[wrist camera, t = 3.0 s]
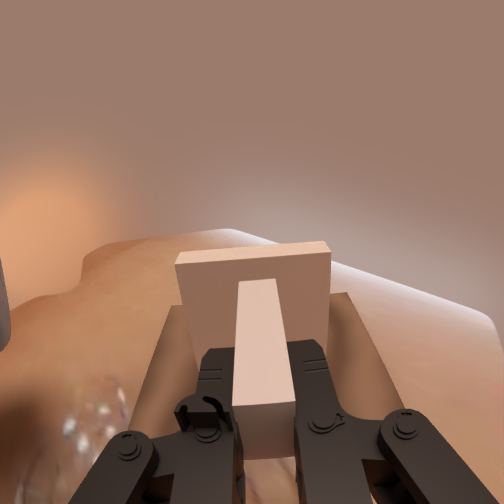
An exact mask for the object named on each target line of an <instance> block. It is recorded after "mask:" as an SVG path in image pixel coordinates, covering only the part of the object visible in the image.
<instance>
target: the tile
mask: <svg viewBox="0 0 504 504" xmlns="http://www.w3.org/2000/svg"><path fill="white" fill-rule="evenodd" d="M175 269H176V274H177V279H178V284H179V289H180V294H181V299H182V303H183V308H184V312H185V317H186V321H187V326H188V330H189V334H190V339H191V343H192V347H193V351H194V355H195V359H196V363H197V367H198V371H199V372H200V364H201V359H202V357H203V356H204V355H205V353H206V352H207V351H208V350H209V349H210V348H228V347H235V339H236V321H237V304H238V287H239V282H241V281H252V280H264V279H276V285H277V291H278V297H279V302H280V308H281V314H282V320H283V326H284V332H285V338H286V342H290V341H300V340H308V339H314V340H315V341H316V342H317V343H318V344H319V345H320V346H321V347H322V348H323V351H324V354H325V357H326V351H327V337H328V321H329V302H330V277H331V251H330V249H329V248H328V246H327V244H326V243H325V241H316V242H303V243H290V244H277V245H264V246H251V247H239V248H226V249H214V250H201V251H189V252H180V254H179V256H178V258H177V260H176V262H175Z"/></svg>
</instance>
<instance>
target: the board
mask: <svg viewBox="0 0 504 504" xmlns="http://www.w3.org/2000/svg"><path fill="white" fill-rule="evenodd" d="M326 361H327V364H328V367H329V370H330V374H331V377H332V380H333V384H334V387H335V390H336V394H337V397H338V401H339V403H340V405H341V407H342V408H343V409H344V411H345V412H347V413H348V414H350V415H351V416H354V417H357V418H361V419H369V420H384V418H385V417H386V416H387V415H388V414H390V413H391V412H392V411H395V410H399V409H405V407H404V405H403V403H402V401H401V399H400V397H399V394H398V392H397V390H396V388H395V386H394V384H393V382H392V380H391V378H390V376H389V373H388V371H387V369H386V367H385V365H384V363H383V361H382V359H381V357H380V355H379V353H378V351H377V349H376V347H375V345H374V343H373V341H372V339H371V337H370V335H369V333H368V331H367V330H366V328H365V326H364V324H363V322H362V320H361V318H360V316H359V314H358V312H357V310H356V309H355V307H354V305H353V303H352V301H351V299H350V297H349V296H348V294H347V292H344V293H335V294H330V302H329V321H328V337H327V351H326ZM198 376H199V371H198V367H197V363H196V359H195V355H194V351H193V347H192V343H191V339H190V334H189V330H188V326H187V321H186V317H185V312H184V308H183V305H177V306H171V309H170V311H169V314H168V316H167V319H166V322H165V324H164V327H163V330H162V332H161V335H160V338H159V340H158V343H157V346H156V349H155V351H154V354H153V357H152V360H151V362H150V365H149V368H148V371H147V374H146V377H145V379H144V382H143V385H142V388H141V391H140V394H139V397H138V400H137V403H136V406H135V409H134V412H133V415H132V418H131V421H130V424H129V427H128V430H127V431H130V430H133V431H140V432H142V433H144V434H146V435H147V436H148V437H149V438H150V439H152V438H157V437H162V436H166V435H170V434H173V433H176V432H177V431H179V430H181V428H180V426H179V424H178V421H177V419H176V417H175V414H174V410H175V408H176V406H177V404H178V403H179V402H180V401H181V400H182V399H184V398H185V397H188V396H190V395H192V394H195V393H196V387H197V381H198Z"/></svg>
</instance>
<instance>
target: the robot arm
mask: <svg viewBox="0 0 504 504" xmlns="http://www.w3.org/2000/svg"><path fill="white" fill-rule="evenodd" d="M10 335H11V319H10V311H9V304H8V298H7V292H6V286H5V281H4V275H3V270H2V265H1V260H0V352H1V351H3V350H4V348H5V347H6V346H7V344H8V342H9V340H10ZM174 414H175V417H176V419H177V421H178V424H179V426H180V428H181V430H179V431H177V432H176V433H173V434H170V435H166V436H162V437H157V438H152V439H150V438H149V437H148V436H147V435H146V434H144V433H142V432H140V431H133V430H130V431H124V432H121V433H119V434H117V435H115V436H114V437H113V438H112V439H111V440H110V441H109V442H108V443H107V445H106V446H105V448H104V449H103V451H102V452H101V454H100V455H99V457H98V459H97V460H96V462H95V463H94V465H93V466H92V468H91V469H90V471H89V472H88V474H87V475H86V477H85V478H84V480H83V481H82V483H81V484H80V486H79V487H78V489H77V491H76V492H75V494H74V495H73V497H72V498H71V500H70V501H69V503H68V504H245V473H244V469H243V464H244V460H255V459H270V458H282V457H292V456H295V459H296V482H297V487H298V496H299V504H373V502H372V498H371V494H372V496H373V498H374V499H375V501H376V503H377V504H499V503H498V501H497V500H496V499H495V498H494V497H493V495H492V494H491V493H490V492H489V490H488V489H487V488H486V487H485V486H484V484H483V483H482V482H481V481H480V480H479V479H478V477H477V476H476V475H475V474H474V473H473V471H472V470H471V469H470V468H469V467H468V465H467V464H466V463H465V462H464V461H463V460H462V458H461V457H460V456H459V455H458V454H457V452H456V451H455V450H454V449H453V448H452V447H451V445H450V444H449V443H448V442H447V441H446V440H445V438H444V437H443V436H442V435H441V434H440V433H439V432H438V430H437V429H436V428H435V427H434V426H433V425H432V423H431V422H430V421H429V420H428V419H427V418H426V417H425V416H424V415H423V414H421V413H420V412H418V411H415V410H412V409H399V410H395V411H392V412H391V413H390V414H388V415H387V416H386V417H385V418H384V420H369V419H361V418H357V417H354V416H351V415H350V414H348V413H347V412H345V411H344V409H343V408H342V407H341V405H340V403H339V401H338V397H337V394H336V390H335V387H334V384H333V380H332V377H331V374H330V370H329V367H328V364H327V361H326V357H325V354H324V351H323V348H322V347H321V346H320V345H319V344H318V343H317V342H316V341H315V340H314V339H308V340H300V341H290V342H286V338H285V332H284V326H283V320H282V314H281V308H280V302H279V297H278V291H277V285H276V279H264V280H252V281H241V282H239V287H238V304H237V321H236V339H235V347H228V348H210V349H209V350H208V351H207V352H206V353H205V355H204V356H203V357H202V359H201V364H200V372H199V376H198V381H197V387H196V393H195V394H192V395H190V396H188V397H185V398H184V399H182V400H181V401H180V402H179V403H178V404H177V406H176V408H175V410H174ZM370 493H371V494H370Z"/></svg>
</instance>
